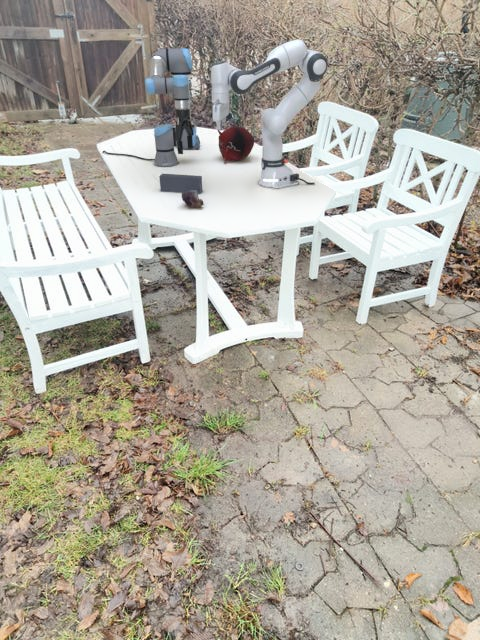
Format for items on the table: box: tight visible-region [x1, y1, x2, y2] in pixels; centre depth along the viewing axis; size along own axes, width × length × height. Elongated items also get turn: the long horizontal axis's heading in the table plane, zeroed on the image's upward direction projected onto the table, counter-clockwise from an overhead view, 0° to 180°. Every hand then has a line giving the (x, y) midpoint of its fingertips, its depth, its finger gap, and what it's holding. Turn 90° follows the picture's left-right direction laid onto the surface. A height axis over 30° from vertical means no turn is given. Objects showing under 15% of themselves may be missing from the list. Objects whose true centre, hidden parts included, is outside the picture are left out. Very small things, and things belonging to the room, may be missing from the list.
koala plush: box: [183, 134, 201, 150], centre depth 324 cm, size 17×18×20 cm
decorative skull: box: [217, 125, 255, 165], centre depth 297 cm, size 21×24×25 cm
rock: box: [181, 190, 205, 208], centre depth 227 cm, size 12×9×10 cm
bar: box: [159, 173, 203, 195], centre depth 247 cm, size 23×5×8 cm, turn 77°
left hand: (185, 151), depth 246 cm, fingers open, 13 cm apart
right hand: (221, 127), depth 234 cm, fingers open, 8 cm apart
